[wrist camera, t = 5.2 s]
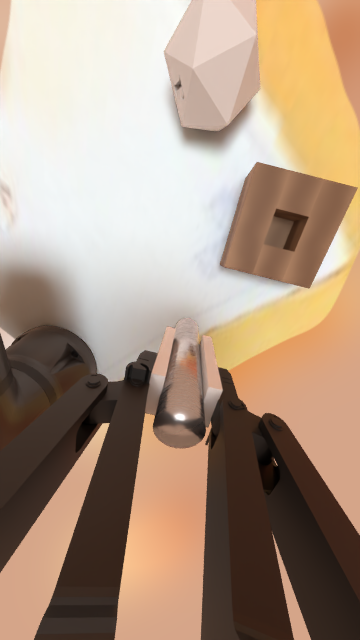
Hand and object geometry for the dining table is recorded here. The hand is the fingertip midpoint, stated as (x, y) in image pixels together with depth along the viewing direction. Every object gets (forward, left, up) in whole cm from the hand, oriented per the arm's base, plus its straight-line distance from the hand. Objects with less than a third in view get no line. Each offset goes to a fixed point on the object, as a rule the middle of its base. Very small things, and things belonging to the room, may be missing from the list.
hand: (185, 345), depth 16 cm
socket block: (+8, +12, -15) cm, 21 cm away
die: (-4, +24, -16) cm, 29 cm away
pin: (0, 0, -4) cm, 4 cm away
